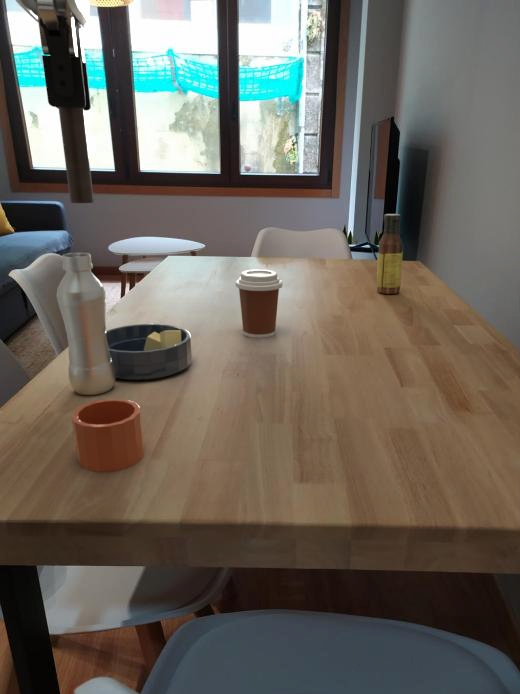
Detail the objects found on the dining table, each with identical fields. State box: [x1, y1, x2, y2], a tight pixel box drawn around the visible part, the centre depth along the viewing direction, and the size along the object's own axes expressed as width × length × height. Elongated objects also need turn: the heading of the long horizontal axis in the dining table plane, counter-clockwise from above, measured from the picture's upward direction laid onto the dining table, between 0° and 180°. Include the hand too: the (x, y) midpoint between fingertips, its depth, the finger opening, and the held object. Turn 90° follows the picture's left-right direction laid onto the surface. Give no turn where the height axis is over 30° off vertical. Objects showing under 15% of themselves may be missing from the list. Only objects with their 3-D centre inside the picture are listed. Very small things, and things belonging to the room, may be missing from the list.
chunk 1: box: [144, 332, 161, 351], centre depth 94 cm, size 3×3×3 cm
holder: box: [71, 398, 145, 473], centre depth 62 cm, size 7×7×6 cm
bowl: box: [106, 323, 193, 381], centre depth 90 cm, size 15×15×5 cm
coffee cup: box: [235, 269, 283, 339], centre depth 106 cm, size 9×9×12 cm
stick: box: [58, 44, 94, 204], centre depth 52 cm, size 2×2×14 cm
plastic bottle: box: [55, 252, 116, 396], centre depth 77 cm, size 6×7×20 cm
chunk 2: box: [160, 330, 181, 349], centre depth 91 cm, size 3×3×3 cm
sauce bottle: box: [376, 213, 404, 295], centre depth 140 cm, size 6×6×20 cm
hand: (70, 106), depth 51 cm, fingers closed on stick, 2 cm apart
